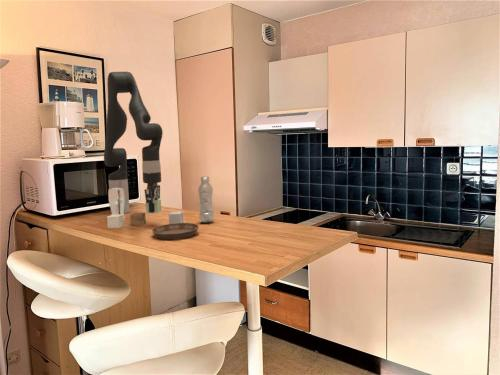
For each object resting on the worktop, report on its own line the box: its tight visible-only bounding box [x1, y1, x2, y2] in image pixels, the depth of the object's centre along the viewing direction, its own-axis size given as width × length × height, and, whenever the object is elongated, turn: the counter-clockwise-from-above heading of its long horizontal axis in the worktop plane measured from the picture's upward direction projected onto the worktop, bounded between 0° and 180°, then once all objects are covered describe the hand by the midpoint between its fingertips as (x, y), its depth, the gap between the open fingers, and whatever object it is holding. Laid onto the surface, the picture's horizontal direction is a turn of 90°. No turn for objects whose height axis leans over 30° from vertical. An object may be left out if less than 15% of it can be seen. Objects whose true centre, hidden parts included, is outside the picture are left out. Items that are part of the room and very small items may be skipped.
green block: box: [145, 199, 162, 214], centre depth 168 cm, size 5×5×5 cm
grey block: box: [168, 211, 185, 224], centre depth 172 cm, size 5×5×5 cm
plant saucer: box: [151, 222, 200, 240], centre depth 152 cm, size 18×18×3 cm
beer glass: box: [107, 188, 126, 222], centre depth 182 cm, size 7×7×15 cm
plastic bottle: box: [197, 176, 215, 224], centre depth 172 cm, size 6×7×20 cm
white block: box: [106, 214, 125, 229], centre depth 170 cm, size 5×5×5 cm
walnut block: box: [129, 211, 147, 227], centre depth 173 cm, size 5×5×5 cm
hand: (153, 210), depth 168 cm, fingers closed on green block, 5 cm apart
